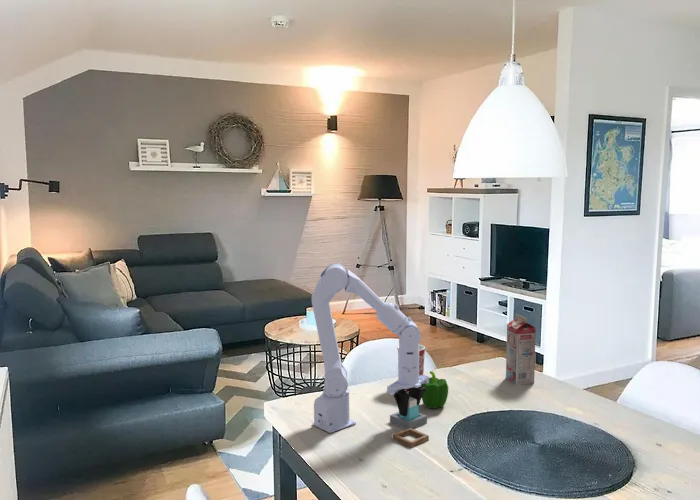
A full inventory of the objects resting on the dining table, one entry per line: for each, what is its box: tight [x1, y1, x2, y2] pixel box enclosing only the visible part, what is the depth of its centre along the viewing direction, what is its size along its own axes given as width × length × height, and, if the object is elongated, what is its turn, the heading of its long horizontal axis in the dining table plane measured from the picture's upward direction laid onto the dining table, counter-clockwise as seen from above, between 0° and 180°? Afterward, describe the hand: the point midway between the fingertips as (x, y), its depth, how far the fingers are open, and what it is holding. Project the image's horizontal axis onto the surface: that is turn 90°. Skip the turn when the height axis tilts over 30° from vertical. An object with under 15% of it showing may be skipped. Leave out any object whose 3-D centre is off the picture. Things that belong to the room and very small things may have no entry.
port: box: [389, 411, 428, 430], centre depth 163 cm, size 7×7×2 cm
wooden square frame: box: [391, 428, 430, 448], centre depth 152 cm, size 7×7×1 cm
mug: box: [396, 344, 426, 392], centre depth 188 cm, size 13×9×14 cm
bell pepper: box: [421, 370, 449, 409], centre depth 175 cm, size 8×8×10 cm
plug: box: [400, 397, 420, 421], centre depth 163 cm, size 4×4×6 cm
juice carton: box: [505, 313, 536, 386], centre depth 195 cm, size 7×7×22 cm
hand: (408, 413), depth 163 cm, fingers closed on plug, 4 cm apart
